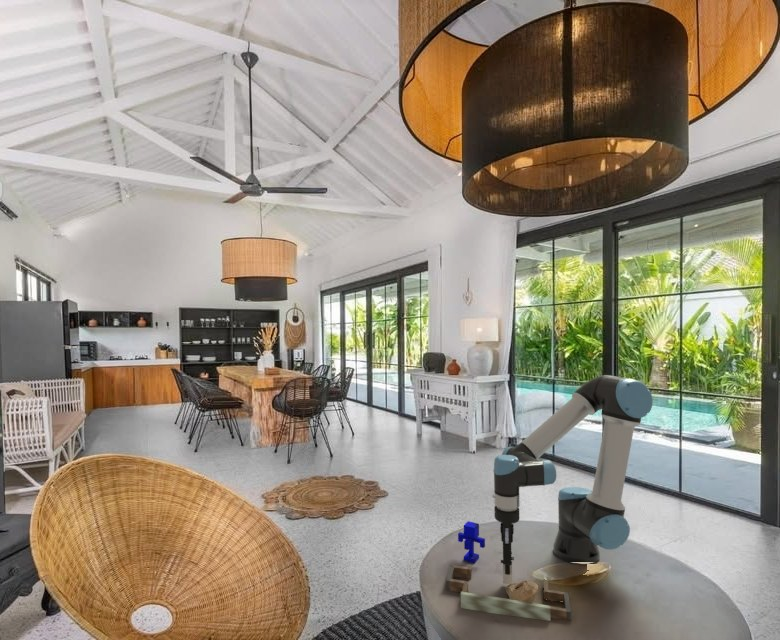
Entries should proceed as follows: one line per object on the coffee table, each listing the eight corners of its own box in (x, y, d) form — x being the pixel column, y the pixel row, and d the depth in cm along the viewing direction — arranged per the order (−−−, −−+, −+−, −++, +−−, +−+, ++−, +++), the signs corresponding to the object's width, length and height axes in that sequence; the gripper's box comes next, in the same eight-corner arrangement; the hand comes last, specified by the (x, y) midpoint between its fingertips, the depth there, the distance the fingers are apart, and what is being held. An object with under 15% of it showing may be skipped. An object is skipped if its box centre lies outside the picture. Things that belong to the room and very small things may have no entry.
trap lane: (565, 589, 141) (565, 576, 141) (571, 626, 124) (571, 611, 124) (451, 572, 151) (451, 560, 151) (442, 604, 134) (442, 590, 134)
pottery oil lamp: (520, 588, 142) (520, 565, 142) (545, 612, 131) (545, 587, 131) (495, 594, 139) (495, 570, 139) (518, 618, 128) (518, 592, 128)
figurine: (465, 566, 155) (465, 530, 155) (457, 555, 162) (456, 521, 162) (486, 563, 157) (486, 528, 157) (477, 552, 164) (476, 518, 164)
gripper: (495, 497, 151) (496, 569, 151) (493, 514, 138) (494, 592, 138) (519, 499, 149) (519, 572, 149) (519, 516, 136) (520, 596, 136)
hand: (507, 582), depth 143 cm, fingers closed
